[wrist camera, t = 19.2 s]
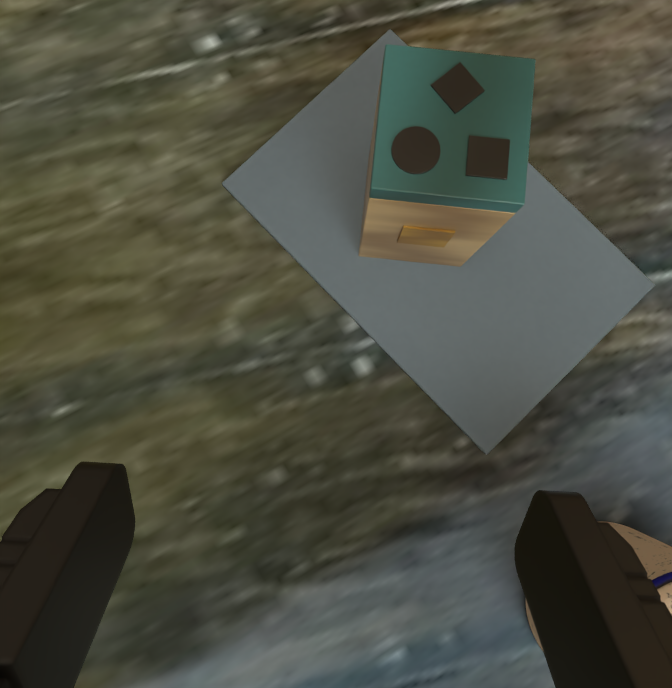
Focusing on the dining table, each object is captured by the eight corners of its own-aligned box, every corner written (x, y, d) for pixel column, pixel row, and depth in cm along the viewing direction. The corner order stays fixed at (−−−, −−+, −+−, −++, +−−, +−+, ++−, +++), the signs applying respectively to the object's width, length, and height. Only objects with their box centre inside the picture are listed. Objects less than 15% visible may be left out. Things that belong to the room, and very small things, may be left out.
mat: (222, 185, 30) (221, 183, 30) (389, 32, 31) (390, 28, 31) (484, 454, 29) (487, 455, 29) (651, 286, 30) (655, 284, 29)
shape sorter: (358, 258, 29) (370, 190, 19) (368, 155, 30) (385, 38, 20) (460, 268, 29) (525, 206, 19) (469, 166, 30) (537, 53, 20)
